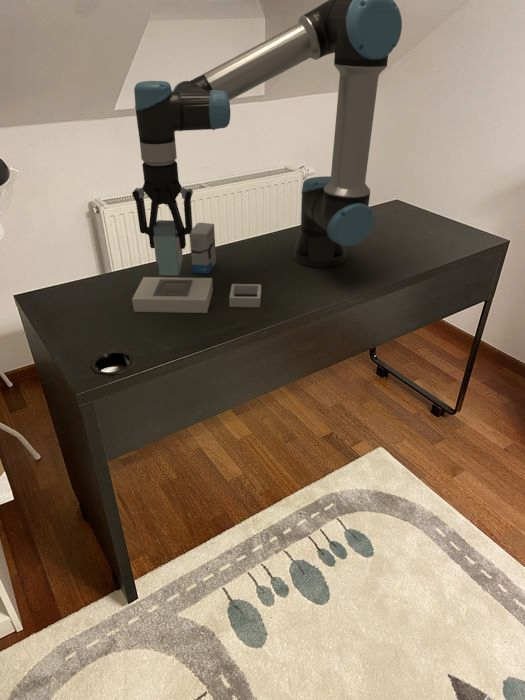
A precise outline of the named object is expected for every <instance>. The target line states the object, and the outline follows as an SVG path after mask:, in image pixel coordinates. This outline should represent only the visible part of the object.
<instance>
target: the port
mask: <svg viewBox="0 0 525 700" xmlns="http://www.w3.org/2000/svg"><path fill="white" fill-rule="evenodd" d="M213 291H214V285H213V278H212V277H168V276H167V277H165V276H164V277H163V276H162V277H161V276H160V277H157V276H156V277H155V276H153V277H151V276H143V277H142V279H141V281H140V283H139V285H138V287H137V288H136V291H135V292H134V294H133V297H132V298H131V300H132V307H133V312H134V313H135V312H136V313H138V312H139V313H188V314H189V313H191V314H192V313H197V314H202V313H203V314H208V310H209V307H210V304H211V299H212V295H213Z"/></svg>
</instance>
